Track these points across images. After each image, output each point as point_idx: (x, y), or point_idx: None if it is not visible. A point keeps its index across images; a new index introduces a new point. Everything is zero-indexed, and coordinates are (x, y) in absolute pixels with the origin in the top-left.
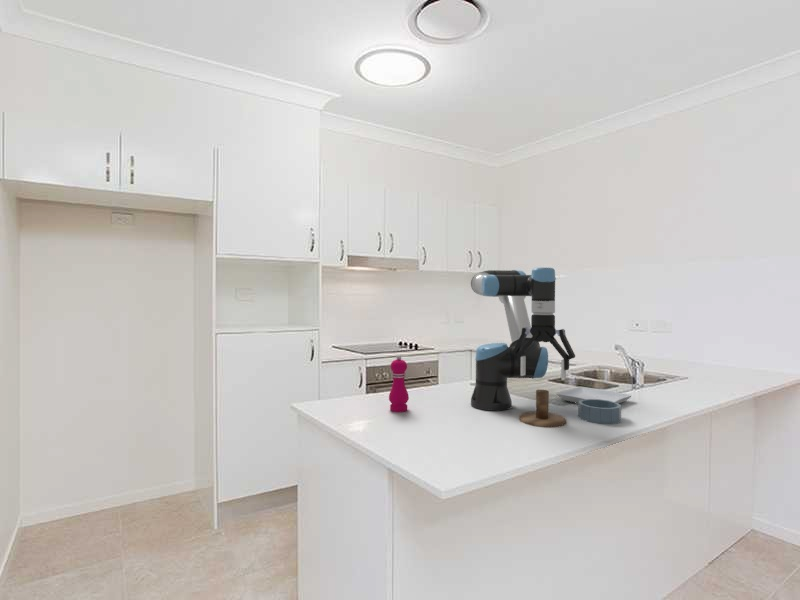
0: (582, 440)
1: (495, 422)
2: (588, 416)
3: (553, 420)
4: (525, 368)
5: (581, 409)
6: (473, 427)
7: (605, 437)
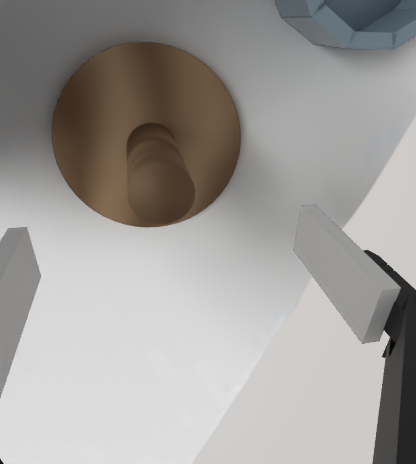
0: None
1: None
2: (320, 43)
3: (201, 158)
4: (12, 256)
5: (301, 18)
6: None
7: (356, 196)
